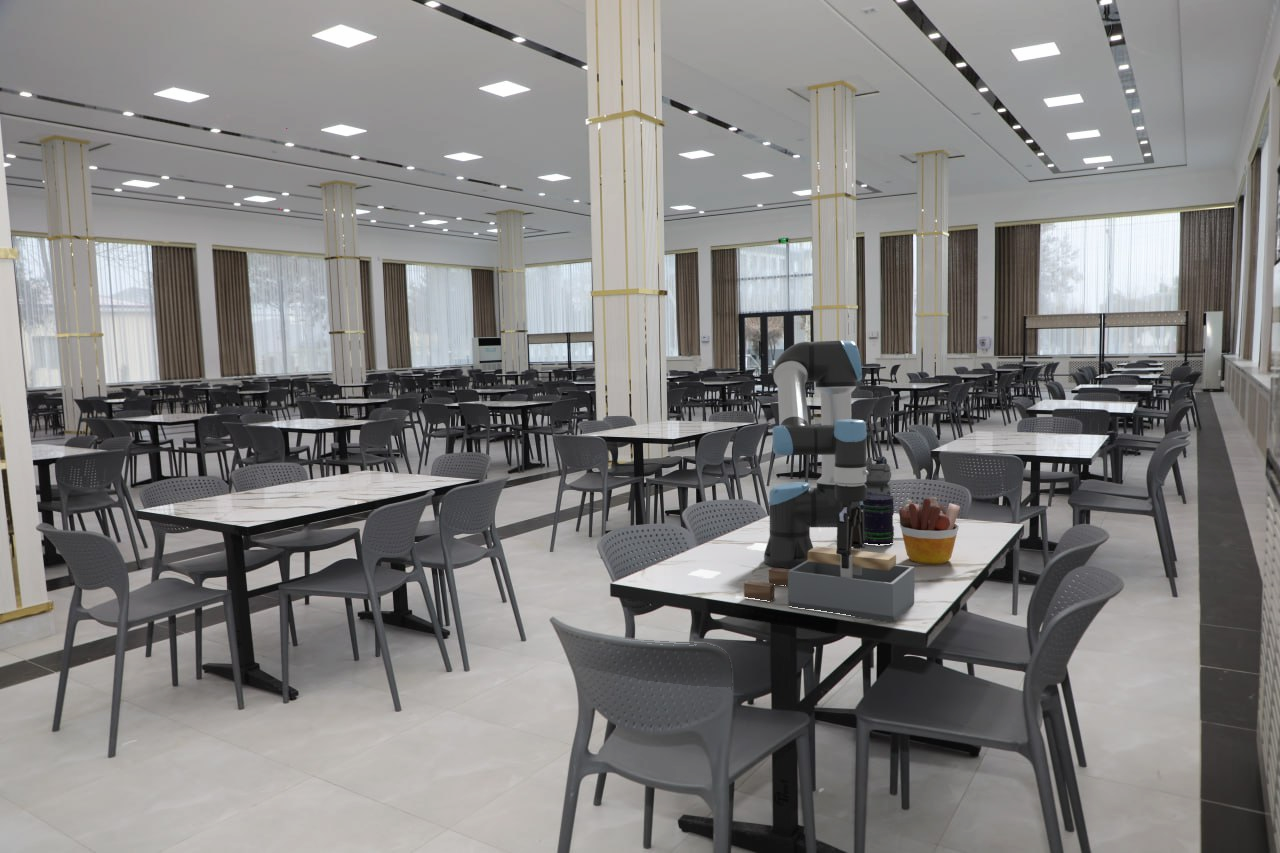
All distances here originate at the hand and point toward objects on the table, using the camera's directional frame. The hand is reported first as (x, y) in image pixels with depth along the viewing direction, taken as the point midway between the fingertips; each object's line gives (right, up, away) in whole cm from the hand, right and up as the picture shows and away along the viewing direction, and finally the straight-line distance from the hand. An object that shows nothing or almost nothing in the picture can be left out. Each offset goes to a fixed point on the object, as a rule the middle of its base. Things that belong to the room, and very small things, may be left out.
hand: (851, 577), depth 210 cm
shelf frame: (0, -7, +1) cm, 7 cm away
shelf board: (0, +4, 0) cm, 4 cm away
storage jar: (+25, -1, +66) cm, 71 cm away
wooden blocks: (-17, -6, +14) cm, 23 cm away
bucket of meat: (+33, -3, +42) cm, 54 cm away
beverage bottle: (+31, +1, +91) cm, 96 cm away
